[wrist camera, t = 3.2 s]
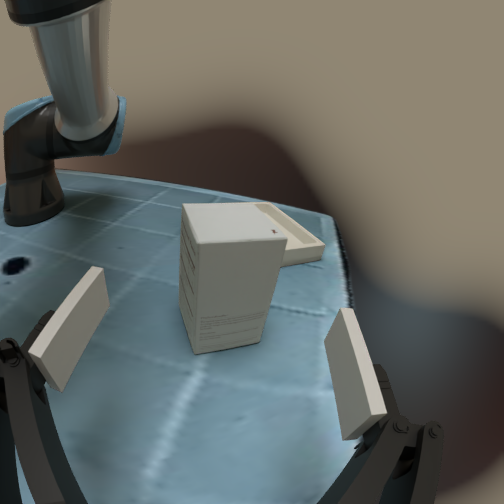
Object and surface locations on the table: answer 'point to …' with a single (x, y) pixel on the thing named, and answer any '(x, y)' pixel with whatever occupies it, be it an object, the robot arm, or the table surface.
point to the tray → (293, 237)
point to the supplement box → (227, 273)
